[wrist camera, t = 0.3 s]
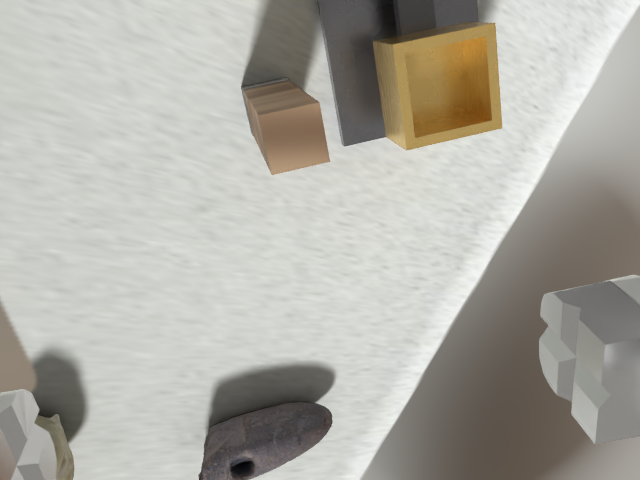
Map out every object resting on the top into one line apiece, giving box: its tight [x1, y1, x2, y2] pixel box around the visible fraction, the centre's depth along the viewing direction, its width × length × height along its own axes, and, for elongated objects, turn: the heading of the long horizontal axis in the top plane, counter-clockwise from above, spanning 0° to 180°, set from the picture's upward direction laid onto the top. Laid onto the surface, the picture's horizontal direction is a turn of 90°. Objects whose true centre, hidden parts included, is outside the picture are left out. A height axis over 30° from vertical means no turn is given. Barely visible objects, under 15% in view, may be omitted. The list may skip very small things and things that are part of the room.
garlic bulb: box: [34, 414, 74, 480], centre depth 57 cm, size 9×8×10 cm
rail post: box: [241, 77, 330, 175], centre depth 47 cm, size 4×4×16 cm
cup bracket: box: [317, 0, 502, 150], centre depth 49 cm, size 18×14×10 cm
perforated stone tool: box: [199, 402, 332, 480], centre depth 63 cm, size 15×5×7 cm, turn 102°
